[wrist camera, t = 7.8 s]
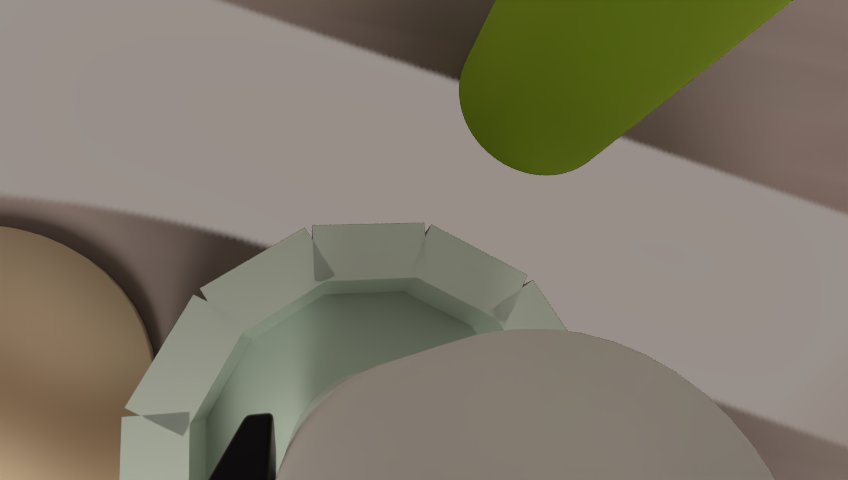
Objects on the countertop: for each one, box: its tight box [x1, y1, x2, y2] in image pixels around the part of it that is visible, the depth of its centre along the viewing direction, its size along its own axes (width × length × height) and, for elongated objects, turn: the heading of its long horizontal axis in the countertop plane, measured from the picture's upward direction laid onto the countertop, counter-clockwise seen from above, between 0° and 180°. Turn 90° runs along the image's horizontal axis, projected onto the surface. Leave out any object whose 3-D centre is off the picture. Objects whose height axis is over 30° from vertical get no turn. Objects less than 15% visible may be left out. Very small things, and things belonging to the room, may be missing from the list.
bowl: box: [119, 223, 567, 480], centre depth 17 cm, size 12×12×4 cm
